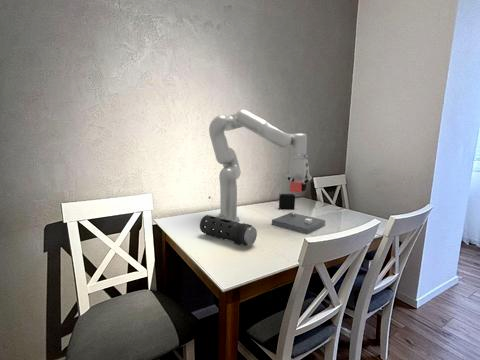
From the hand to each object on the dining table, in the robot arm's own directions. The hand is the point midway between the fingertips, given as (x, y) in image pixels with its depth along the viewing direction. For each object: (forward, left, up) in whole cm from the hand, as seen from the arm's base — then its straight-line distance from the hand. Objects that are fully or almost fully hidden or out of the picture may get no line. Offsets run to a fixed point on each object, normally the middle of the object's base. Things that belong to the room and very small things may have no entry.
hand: (298, 190), depth 158 cm
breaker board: (+2, 0, -20) cm, 21 cm away
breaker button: (+2, -6, -20) cm, 21 cm away
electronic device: (+27, +24, -21) cm, 42 cm away
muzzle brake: (-42, +12, -21) cm, 48 cm away
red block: (0, 0, -1) cm, 1 cm away
